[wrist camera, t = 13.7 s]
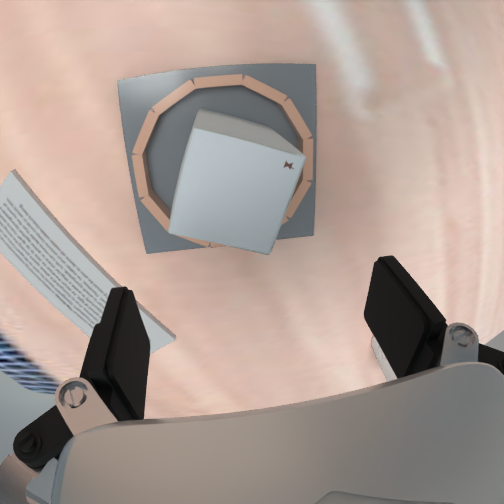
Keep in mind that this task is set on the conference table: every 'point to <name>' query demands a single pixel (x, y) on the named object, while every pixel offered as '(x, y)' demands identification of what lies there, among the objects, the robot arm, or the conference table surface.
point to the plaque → (59, 262)
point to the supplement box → (234, 183)
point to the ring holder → (180, 125)
